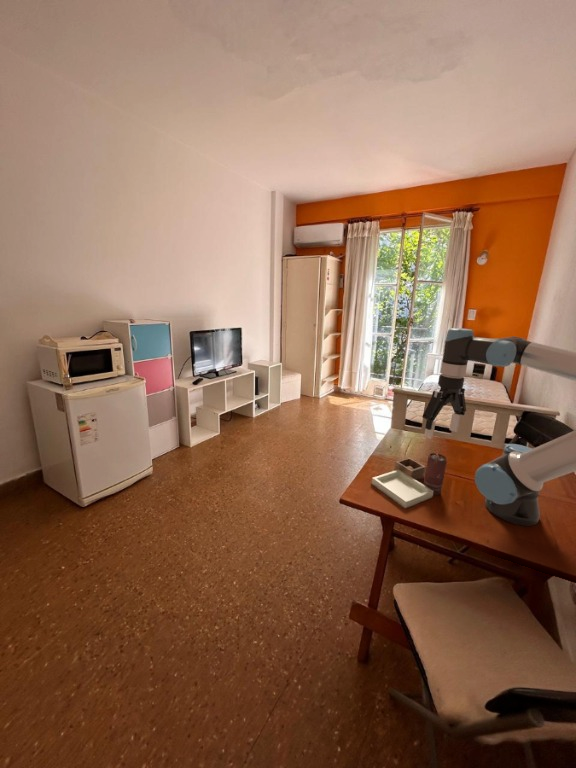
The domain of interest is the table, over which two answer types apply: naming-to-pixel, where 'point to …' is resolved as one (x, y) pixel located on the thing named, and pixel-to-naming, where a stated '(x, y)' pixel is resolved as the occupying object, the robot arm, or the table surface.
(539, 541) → the table surface
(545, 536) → the table surface
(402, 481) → the tray
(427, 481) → the can
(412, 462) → the square wooden box
